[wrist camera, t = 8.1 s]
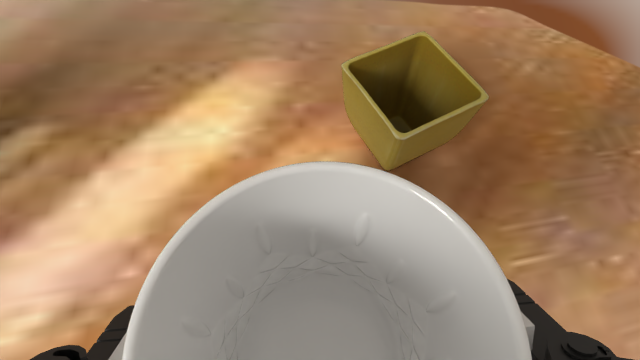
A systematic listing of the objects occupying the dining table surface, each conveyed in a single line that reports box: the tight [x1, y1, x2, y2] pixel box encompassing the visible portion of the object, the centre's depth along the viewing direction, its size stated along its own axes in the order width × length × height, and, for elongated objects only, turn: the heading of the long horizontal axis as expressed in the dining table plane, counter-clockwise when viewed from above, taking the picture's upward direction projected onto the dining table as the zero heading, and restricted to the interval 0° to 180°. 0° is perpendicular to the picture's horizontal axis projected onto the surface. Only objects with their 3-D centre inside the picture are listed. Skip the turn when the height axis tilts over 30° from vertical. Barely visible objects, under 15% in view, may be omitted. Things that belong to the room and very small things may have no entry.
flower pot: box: [342, 31, 489, 171], centre depth 33 cm, size 9×9×9 cm
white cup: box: [122, 162, 532, 360], centre depth 12 cm, size 8×8×10 cm
